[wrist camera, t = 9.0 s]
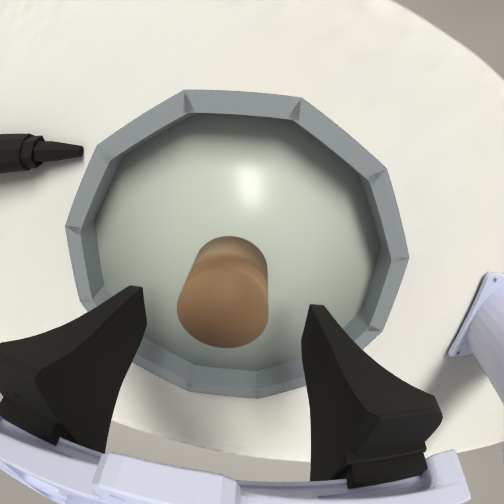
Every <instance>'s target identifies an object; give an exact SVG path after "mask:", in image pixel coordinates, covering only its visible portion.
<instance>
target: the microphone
mask: <svg viewBox="0 0 504 504" xmlns="http://www.w3.org/2000/svg"><path fill="white" fill-rule="evenodd" d="M82 154H83V147H82V146H78V145H72V144H66V143H59V142H52V141H44V138H43V136H34V135H31V134H0V173H5V172H15V171H25V170H30V169H31V168H37V167H39V166H40V165H41V164H42V163H43V162H47V161H57V160H62V159H68V158H74V157H81V156H82Z"/></svg>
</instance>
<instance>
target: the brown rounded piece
mask: <svg viewBox="0 0 504 504" xmlns="http://www.w3.org/2000/svg"><path fill="white" fill-rule="evenodd" d="M177 315H178V318H179V320H180V323H181V324H182V326H183V328H184V329H185V330H186V331H187V332H188V333H189V334H190V335H191V336H192V337H194V338H195V339H196V340H198V341H200V342H202V343H204V344H207V345H209V346H213V347H218V348H236V347H241V346H244V345H247V344H249V343H251V342H252V341H254V340H255V339H257V338H258V337H259V336H260V335H261V334H262V333H263V331H264V330H265V328H266V326H267V322H268V317H269V308H268V269H267V262H266V259H265V257H264V255H263V253H262V252H261V251H260V249H259V248H258V247H257V246H255V245H254V244H253V243H251V242H250V241H248V240H246V239H243V238H240V237H235V236H223V237H218V238H215V239H213V240H211V241H209V242H208V243H206V244H205V245H204V246H203V247H202V248H201V249H200V250H199V252H198V254H197V256H196V258H195V260H194V263H193V265H192V267H191V270H190V272H189V274H188V276H187V279H186V281H185V283H184V286H183V288H182V290H181V293H180V295H179V298H178V301H177Z"/></svg>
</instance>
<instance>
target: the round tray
mask: <svg viewBox="0 0 504 504" xmlns="http://www.w3.org/2000/svg"><path fill="white" fill-rule="evenodd" d="M65 228H66V235H67V241H68V247H69V253H70V258H71V263H72V268H73V273H74V278H75V283H76V287H77V291H78V295H79V299H80V302H81V303H82V305H83V306H84V307H85V309H86V310H87V311H88V312H89V311H91V310H92V309H94V308H95V307H97V306H99V305H100V304H102V303H103V302H105V301H106V300H108V299H109V298H111V297H112V296H114V295H115V294H117V293H118V292H120V291H121V290H123V289H124V288H126V287H128V286H130V285H133V286H140V287H143V294H144V303H145V310H146V317H147V326H146V330H145V333H144V336H143V339H142V342H141V344H140V346H139V348H138V350H137V352H136V355H135V357H134V359H133V361H132V362H133V363H135V364H137V365H139V366H141V367H142V368H144V369H146V370H148V371H150V372H152V373H153V374H155V375H157V376H159V377H161V378H163V379H165V380H167V381H169V382H171V383H173V384H175V385H177V386H179V387H181V388H183V389H185V390H187V391H192V392H199V393H206V394H215V395H224V396H233V397H245V398H263V397H267V396H271V395H274V394H278V393H282V392H286V391H289V390H293V389H296V388H300V387H303V386H306V381H305V375H304V369H303V363H302V352H301V338H302V334H303V330H304V326H305V322H306V318H307V314H308V309H309V305H310V304H316V305H324V306H325V307H326V309H327V310H328V311H329V312H330V314H331V315H332V316H333V317H334V319H335V320H336V321H337V322H338V324H339V325H340V326H341V327H342V328H343V330H344V331H345V332H346V333H347V334H348V335H349V336H350V338H351V339H352V340H353V341H354V342H355V343H356V344H357V345H358V346H359V347H360V348H361V349H364V348H365V347H366V346H367V345H368V344H369V343H370V342H371V341H373V340H374V339H375V338H376V337H377V336H378V335H379V334H380V333H381V332H382V331H383V329H384V326H385V324H386V321H387V319H388V316H389V314H390V311H391V309H392V306H393V303H394V301H395V298H396V295H397V293H398V290H399V287H400V284H401V281H402V278H403V275H404V272H405V269H406V266H407V263H408V260H409V254H408V249H407V244H406V239H405V235H404V230H403V226H402V222H401V218H400V214H399V210H398V206H397V202H396V198H395V195H394V191H393V187H392V184H391V181H390V177H389V174H388V171H387V168H386V167H385V166H384V165H383V164H382V163H380V162H379V161H378V160H377V159H376V158H375V157H374V156H373V155H372V154H371V153H370V152H368V151H367V150H366V149H365V148H364V147H363V146H362V145H360V144H359V143H358V142H357V141H356V140H355V139H354V138H352V137H351V136H350V135H349V134H348V133H346V132H345V131H344V130H343V129H342V128H340V127H339V126H338V125H337V124H335V123H334V122H333V121H332V120H330V119H329V118H328V117H327V116H325V115H324V114H323V113H322V112H320V111H319V110H318V109H316V108H315V107H314V106H312V105H311V104H310V103H308V102H307V101H306V100H304V99H303V98H300V97H293V96H285V95H276V94H267V93H256V92H242V91H224V90H183V91H181V92H179V93H178V94H176V95H174V96H172V97H171V98H169V99H167V100H165V101H164V102H162V103H160V104H159V105H157V106H155V107H154V108H152V109H150V110H149V111H147V112H145V113H144V114H142V115H141V116H139V117H137V118H136V119H134V120H133V121H131V122H130V123H128V124H127V125H125V126H124V127H122V128H121V129H119V130H118V131H116V132H115V133H114V134H112V135H111V136H109V137H108V138H106V139H105V140H104V141H102V142H101V143H100V144H98V145H97V146H96V149H95V151H94V153H93V155H92V157H91V160H90V162H89V164H88V167H87V169H86V171H85V174H84V176H83V179H82V181H81V183H80V186H79V189H78V191H77V194H76V196H75V199H74V202H73V205H72V207H71V210H70V213H69V216H68V219H67V222H66V225H65ZM223 236H235V237H240V238H243V239H246V240H248V241H250V242H251V243H253V244H254V245H255V246H257V247H258V248H259V249H260V251H261V252H262V253H263V255H264V257H265V259H266V262H267V269H268V308H269V317H268V322H267V326H266V328H265V330H264V331H263V333H262V334H261V335H260V336H259V337H258V338H257V339H255V340H254V341H252V342H251V343H249V344H247V345H244V346H241V347H236V348H218V347H213V346H209V345H207V344H204V343H202V342H200V341H198V340H196V339H195V338H194V337H192V336H191V335H190V334H189V333H188V332H187V331H186V330H185V329H184V328H183V326H182V324H181V323H180V320H179V318H178V315H177V301H178V298H179V295H180V293H181V290H182V288H183V286H184V283H185V281H186V279H187V276H188V274H189V272H190V270H191V267H192V265H193V263H194V260H195V258H196V256H197V254H198V252H199V250H200V249H201V248H202V247H203V246H204V245H205V244H206V243H208V242H209V241H211V240H213V239H215V238H218V237H223Z"/></svg>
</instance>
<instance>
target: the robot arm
mask: <svg viewBox="0 0 504 504" xmlns="http://www.w3.org/2000/svg"><path fill="white" fill-rule="evenodd" d="M146 326H147V317H146V310H145V303H144V294H143V287H140V286H133V285H130V286H128V287H126V288H124V289H123V290H121V291H120V292H118V293H117V294H115V295H114V296H112V297H111V298H109V299H108V300H106V301H105V302H103V303H102V304H100V305H99V306H97V307H95V308H94V309H92V310H91V311H89V312H87V313H86V314H84V315H82V316H80V317H79V318H77V319H75V320H73V321H71V322H69V323H67V324H65V325H63V326H60V327H58V328H55V329H53V330H50V331H47V332H45V333H42V334H39V335H36V336H32V337H28V338H24V339H20V340H15V341H9V342H2V343H0V393H1V394H2V395H3V399H2V401H1V402H0V469H2V470H3V471H4V472H6V473H8V474H9V475H11V476H12V477H14V478H15V479H16V480H18V481H20V482H21V483H23V484H25V485H26V486H28V487H29V488H31V489H33V490H35V491H36V492H38V493H39V494H41V495H43V496H45V497H47V498H49V499H50V500H52V501H54V502H56V503H58V504H463V503H465V502H466V501H468V500H469V499H470V498H471V496H470V492H469V489H468V486H467V483H466V480H465V477H464V474H463V471H462V468H461V465H460V462H459V459H458V457H457V454H456V451H455V450H454V449H452V450H449V451H445V452H442V453H438V454H435V455H432V456H430V457H428V458H426V459H425V457H424V454H423V452H425V451H426V449H427V448H426V445H425V441H426V440H427V439H428V438H429V437H430V436H431V435H432V433H433V432H434V431H435V430H436V429H437V428H438V426H439V425H440V423H441V421H442V418H443V416H442V412H441V410H440V408H439V406H438V403H437V401H436V399H435V397H434V396H433V395H431V394H428V393H426V392H424V391H422V390H420V389H417V388H415V387H413V386H411V385H410V384H408V383H406V382H404V381H403V380H401V379H399V378H398V377H396V376H395V375H393V374H392V373H390V372H389V371H387V370H386V369H385V368H383V367H382V366H381V365H379V364H378V363H377V362H376V361H374V360H373V359H372V358H371V357H370V356H369V355H367V354H366V353H365V352H364V351H363V350H362V349H361V348H360V347H359V346H358V345H357V344H356V343H355V342H354V341H353V340H352V339H351V338H350V336H349V335H348V334H347V333H346V332H345V331H344V330H343V328H342V327H341V326H340V325H339V324H338V322H337V321H336V320H335V319H334V317H333V316H332V315H331V314H330V312H329V311H328V310H327V309H326V307H325V306H324V305H316V304H310V305H309V309H308V314H307V318H306V322H305V326H304V330H303V334H302V338H301V352H302V363H303V369H304V375H305V381H306V386H307V392H308V398H309V405H310V419H311V472H310V474H311V475H310V482H256V481H240V480H234V479H232V478H229V477H227V476H224V475H222V474H217V473H212V472H208V471H202V470H195V469H189V468H183V467H177V466H172V465H167V464H162V463H158V462H153V461H149V460H145V459H141V458H137V457H133V456H129V455H125V454H119V453H114V452H111V453H106V454H105V449H106V443H107V437H108V432H109V427H110V423H111V419H112V415H113V411H114V407H115V403H116V400H117V397H118V394H119V391H120V387H121V385H122V382H123V380H124V378H125V375H126V373H127V371H128V369H129V367H130V365H131V363H132V361H133V359H134V357H135V355H136V352H137V350H138V348H139V346H140V344H141V342H142V339H143V336H144V333H145V330H146ZM448 354H449V356H450V357H457V356H466V355H474V356H475V358H476V359H477V361H478V362H479V364H480V365H481V367H482V369H483V370H484V372H485V373H486V375H487V377H488V378H489V380H490V382H491V383H492V385H493V387H494V389H495V390H496V392H497V394H498V396H499V397H500V399H501V401H502V403H503V404H504V273H494V272H489V273H487V274H486V275H485V277H484V280H483V282H482V284H481V287H480V289H479V291H478V294H477V296H476V298H475V300H474V303H473V305H472V307H471V309H470V311H469V313H468V315H467V317H466V319H465V321H464V323H463V325H462V327H461V329H460V331H459V333H458V335H457V337H456V339H455V340H454V342H453V344H452V346H451V348H450V349H449V351H448ZM503 461H504V447H503Z"/></svg>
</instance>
